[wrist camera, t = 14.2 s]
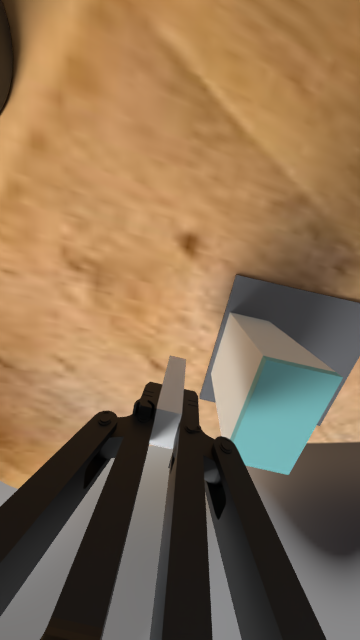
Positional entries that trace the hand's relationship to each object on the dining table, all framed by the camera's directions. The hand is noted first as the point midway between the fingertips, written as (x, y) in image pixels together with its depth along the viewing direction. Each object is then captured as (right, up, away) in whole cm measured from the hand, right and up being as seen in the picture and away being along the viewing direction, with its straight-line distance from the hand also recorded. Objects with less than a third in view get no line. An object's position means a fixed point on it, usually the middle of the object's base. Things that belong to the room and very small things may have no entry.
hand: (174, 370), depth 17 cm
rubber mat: (+14, 0, +8) cm, 16 cm away
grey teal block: (+8, +1, +7) cm, 11 cm away
